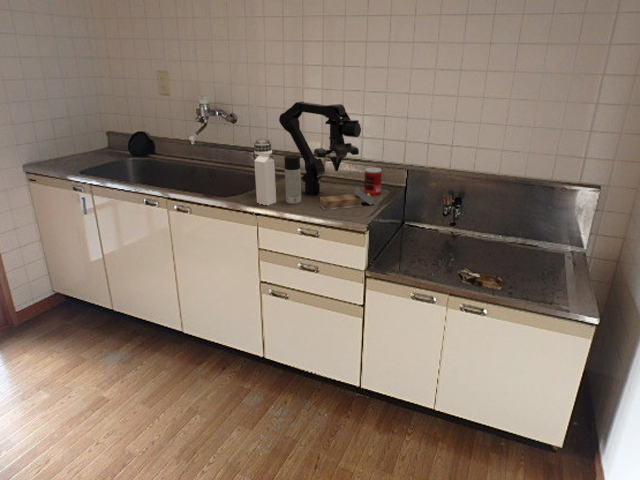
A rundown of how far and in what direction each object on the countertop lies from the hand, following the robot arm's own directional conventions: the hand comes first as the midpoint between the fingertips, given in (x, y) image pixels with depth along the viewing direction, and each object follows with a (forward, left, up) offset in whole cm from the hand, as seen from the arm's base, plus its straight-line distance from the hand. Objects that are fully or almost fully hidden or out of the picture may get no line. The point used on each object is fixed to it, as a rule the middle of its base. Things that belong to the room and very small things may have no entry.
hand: (336, 171), depth 203 cm
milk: (-28, -14, -12) cm, 34 cm away
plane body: (+4, -11, -12) cm, 17 cm away
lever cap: (+13, -7, -10) cm, 17 cm away
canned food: (+15, +10, -12) cm, 22 cm away
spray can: (-17, -10, -12) cm, 23 cm away
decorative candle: (-33, -2, -12) cm, 35 cm away
